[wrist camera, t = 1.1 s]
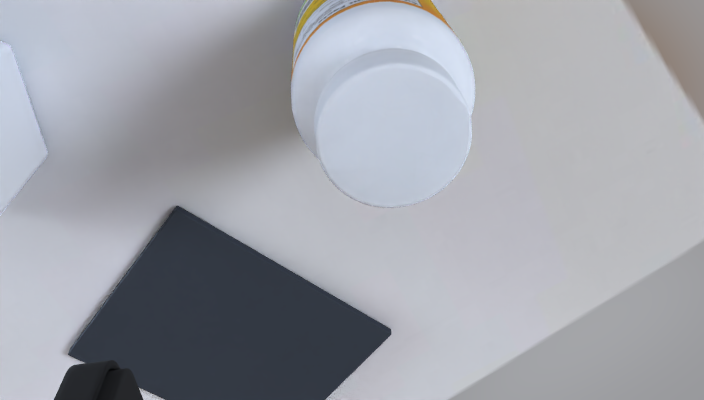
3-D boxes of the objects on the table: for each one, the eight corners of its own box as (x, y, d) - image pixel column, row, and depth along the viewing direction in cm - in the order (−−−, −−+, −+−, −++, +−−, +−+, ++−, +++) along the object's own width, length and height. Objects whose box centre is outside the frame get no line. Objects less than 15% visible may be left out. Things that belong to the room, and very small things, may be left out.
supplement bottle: (433, 99, 26) (493, 226, 18) (300, 106, 26) (296, 238, 17) (437, -43, 23) (511, 29, 15) (289, -36, 23) (277, 40, 15)
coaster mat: (70, 349, 31) (67, 355, 31) (177, 204, 28) (175, 209, 27) (274, 443, 35) (274, 449, 35) (390, 328, 32) (391, 334, 32)
